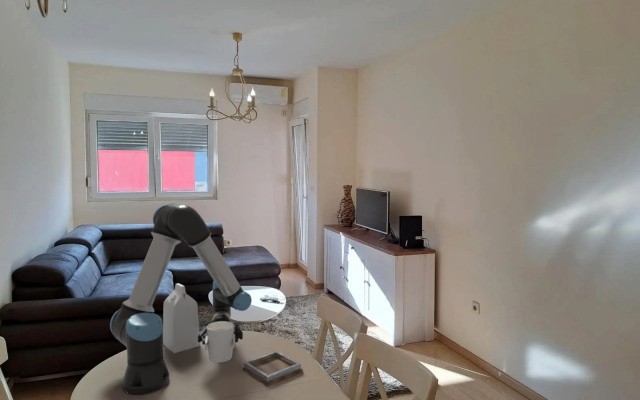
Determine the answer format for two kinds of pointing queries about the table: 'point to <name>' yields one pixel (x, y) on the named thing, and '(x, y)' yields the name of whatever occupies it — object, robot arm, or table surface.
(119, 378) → the table surface
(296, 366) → the grey square frame
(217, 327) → the candle holder
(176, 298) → the milk
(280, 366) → the walnut plate
